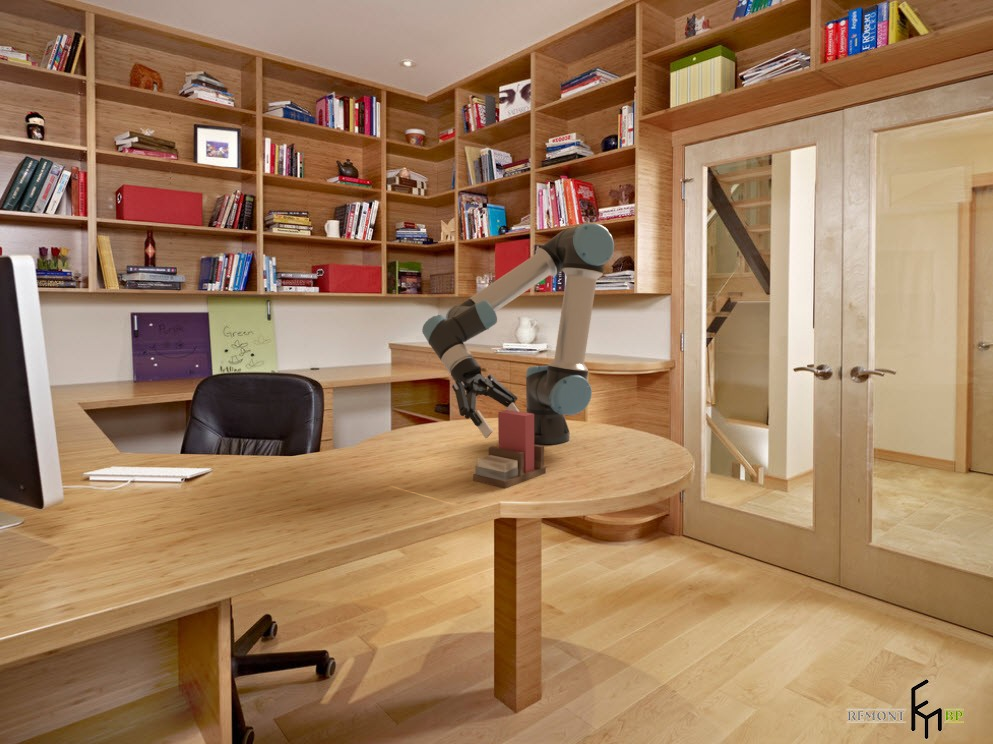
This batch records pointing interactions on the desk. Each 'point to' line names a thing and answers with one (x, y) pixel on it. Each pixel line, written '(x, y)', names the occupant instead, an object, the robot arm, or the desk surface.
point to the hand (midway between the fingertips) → (507, 430)
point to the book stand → (507, 467)
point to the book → (517, 434)
